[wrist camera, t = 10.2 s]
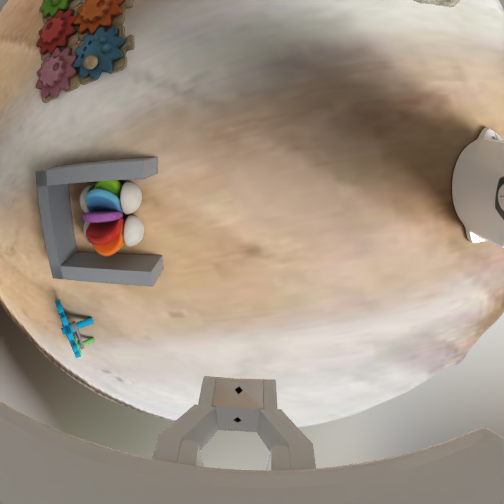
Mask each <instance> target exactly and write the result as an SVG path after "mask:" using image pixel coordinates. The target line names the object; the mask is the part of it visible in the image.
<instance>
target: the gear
mask: <svg viewBox="0 0 504 504" xmlns="http://www.w3.org/2000/svg"><path fill="white" fill-rule="evenodd" d="M55 302H56V306H57V309H58V312H59V315H60V318H61V321H62V326H63V328H61V330H62V332H63V334H66V336H67V337H68V339H69V342H70V344H71V347H72V349H73V351H74V354H75V356H76V358H78V357H80V356H81V355H80V354H82V353H81V351H80V348H81V349H83V348H84V345H86V344H89V343H92V342H94V341H95V340H94V338H90V339H88V340H85V341H83V342H82V340H81V337H80V334H79V331H78V329H79V328H82V327H84V326H87V325H90V324H92V323H94V322H93V319H92V317H91V318H88V319H85V320H83V321H80V322H77V323H75V321H74V322H72V323H68V321H67V318H66V316H65V314H64V310H63V307H62V305H61V302H60V300H56V301H55ZM73 332H76V334H77V337H78V339H79V340H78V343H77V341H76V338H75V337H73Z"/></svg>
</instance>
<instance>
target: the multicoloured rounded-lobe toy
mask: <svg viewBox="0 0 504 504" xmlns="http://www.w3.org/2000/svg"><path fill="white" fill-rule="evenodd" d="M141 200H142V194H141V190H140V189H139V187H138V186H137V185H136V184H134V183H132V182H125V183H124V184H123V186H122V185H121V183H120V182H119V181H117V180H111V181H98V182H97V184H96V185H94V184H91V185H89V186H87V187H86V188H85V189H84V190H83V191H82V193H81V195H80V206H81V208H82V210H83V211H84V212H85V213H84V214H83V221H84V222H85V223H84V226H83V233H84V236H85V238H86V240H87V241H88V242H90V243H91V244H92V245H93V247H94V249H95V250H96V251H97V252H98V253H99V254H101V255H103V256H110V255H113V254H114V253H116V252H117V251H118V250H119V249H120V248H122V247H123V246H124V245H125V244H126V245H127V246H128V247H131V246H135V245H137V244H138V243H139V242H140V241H141V240H142V238H143V235H144V225H143V223H142V221H141V220H140V219H139V218H138V217H136V216H134V215H129V216H128V217H127V218H124V217H123V212H124V214H131V213H133V212H135V211H136V210H137V209H138V208H139V206H140V204H141Z"/></svg>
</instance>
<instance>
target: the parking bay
mask: <svg viewBox="0 0 504 504" xmlns="http://www.w3.org/2000/svg"><path fill="white" fill-rule="evenodd" d="M157 173H158V157H150V158H132V159H119V160H107V161H96V162H87V163H78V164H70V165H62V166H56V167H52V168H48V169H44V170H41V171H37V172H36V181H37V192H38V200H39V208H40V215H41V222H42V228H43V234H44V239H45V245H46V249H47V254H48V259H49V263H50V268H51V272H52V276H53V278H57V279H67V280H77V281H88V282H99V283H111V284H124V285H137V286H152V287H153V286H154V284H155V282H156V281H157V279H158V277H159V276H160V274H161V272H162V271H163V258H162V255H138V254H113V255H110V256H103V255H101V254H99V253H89V252H77V247H76V241H75V235H74V229H73V222H72V214H71V206H70V197H69V186H68V184H70V183H82V182H95V181H111V180H130V179H145V178H147V177H150V176H152V175H154V174H157Z"/></svg>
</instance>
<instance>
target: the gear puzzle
mask: <svg viewBox="0 0 504 504" xmlns="http://www.w3.org/2000/svg"><path fill="white" fill-rule="evenodd" d="M43 1H44V3H43V5H42V6H41V8H40V11H42V12H43V11H44V12H43V18H44V19H43V23H45V25H44V26H43V28H42V29H41V30H40V31H39V35H40V36H41V38H40V39H39V40H38V42H37V45H36V46H37V47H41V58H42V60H43V63H42V64H41V68H40V69H39V70H38V71H37V75H38V77H40V79H39V80H38V82H37V85H36V88H38V89H42V101H43V102H44V103H47V102H49V101H51V100H53V99H55V98H57V97H58V95H59V93H60V90H61V89H64V90H66V92H69V91H72V90H74V89H76V88H78V87H79V86H80V83H81V84H83V85H85V84H87V83H89V82H92V81H94V80H97V79H98V78H99V76H100V75H101V73H102V71H105V72H109V73H110V74H112V73H115V72H118V71H120V70H123V69H124V68H125V67H126V65H127V59H126V51H127V50H133V49H134V36H133V35H130V36H128V37H127V38H125V30H124V26H123V25H121V24H122V23H123V22H124V19H125V18H124V10H125V9H126V8H131V7H132V6H133V0H43ZM80 3H82V4H81V5H80V7H78V6H79V4H80ZM79 39H80V40H82V41H81V42H80V43H79V45H77V42H78V41H79Z"/></svg>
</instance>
